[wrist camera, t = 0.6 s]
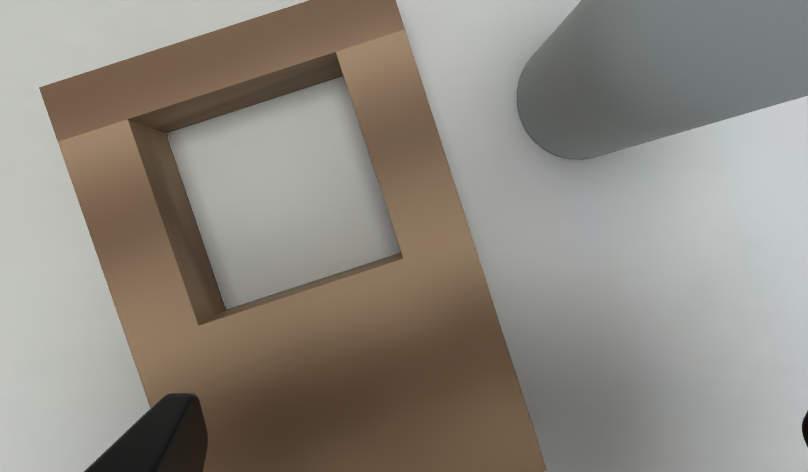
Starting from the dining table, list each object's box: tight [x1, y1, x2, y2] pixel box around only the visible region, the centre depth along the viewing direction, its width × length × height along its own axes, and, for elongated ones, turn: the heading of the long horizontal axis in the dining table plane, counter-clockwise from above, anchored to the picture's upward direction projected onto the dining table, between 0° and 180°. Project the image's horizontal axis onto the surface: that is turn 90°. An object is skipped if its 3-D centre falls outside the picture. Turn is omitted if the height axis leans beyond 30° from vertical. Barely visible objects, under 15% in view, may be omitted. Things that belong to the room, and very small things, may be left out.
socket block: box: [39, 0, 547, 472], centre depth 20 cm, size 16×11×3 cm
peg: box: [517, 0, 808, 159], centre depth 14 cm, size 4×4×14 cm
